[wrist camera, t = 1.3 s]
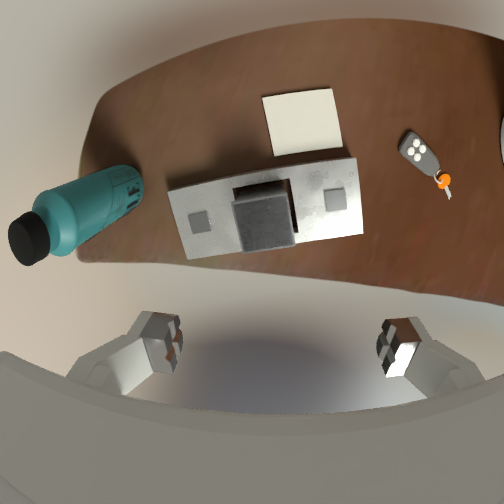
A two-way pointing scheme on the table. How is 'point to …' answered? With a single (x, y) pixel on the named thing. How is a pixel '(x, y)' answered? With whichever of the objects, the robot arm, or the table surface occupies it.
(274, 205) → the dark grey box
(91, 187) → the beverage bottle
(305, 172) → the cabinet panel
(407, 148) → the key chain
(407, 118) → the table surface
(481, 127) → the table surface
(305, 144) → the pad
